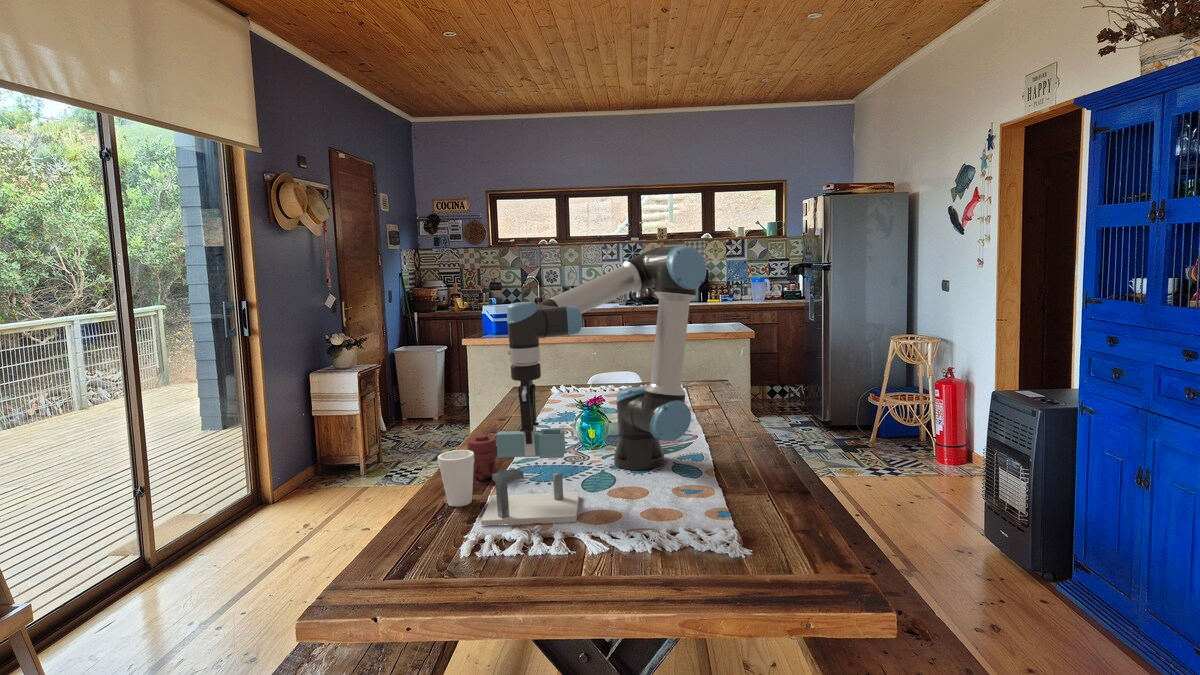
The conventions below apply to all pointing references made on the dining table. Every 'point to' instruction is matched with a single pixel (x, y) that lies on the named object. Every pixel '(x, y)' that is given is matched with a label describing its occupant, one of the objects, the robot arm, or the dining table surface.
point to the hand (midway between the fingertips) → (531, 453)
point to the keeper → (504, 489)
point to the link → (546, 443)
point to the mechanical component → (483, 455)
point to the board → (536, 507)
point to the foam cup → (457, 476)
